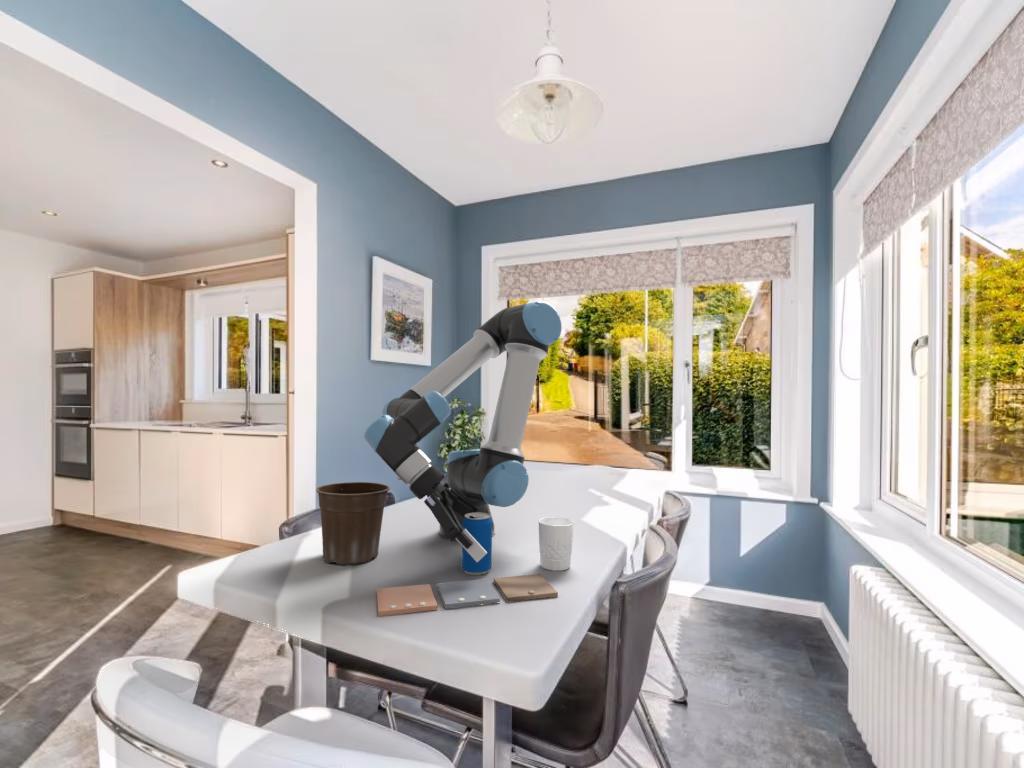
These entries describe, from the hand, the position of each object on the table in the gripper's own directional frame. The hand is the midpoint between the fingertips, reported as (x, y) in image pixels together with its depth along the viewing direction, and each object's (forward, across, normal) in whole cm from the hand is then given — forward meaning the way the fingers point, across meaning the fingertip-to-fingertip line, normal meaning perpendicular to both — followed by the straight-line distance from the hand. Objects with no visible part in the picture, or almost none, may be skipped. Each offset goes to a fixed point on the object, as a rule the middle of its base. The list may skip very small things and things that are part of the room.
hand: (487, 547), depth 105 cm
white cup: (+14, -6, +7) cm, 17 cm away
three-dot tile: (-5, +17, -12) cm, 22 cm away
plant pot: (-19, -5, -27) cm, 33 cm away
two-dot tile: (+2, +13, -5) cm, 14 cm away
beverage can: (+2, 0, -5) cm, 6 cm away
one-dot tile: (+10, +8, +2) cm, 13 cm away
